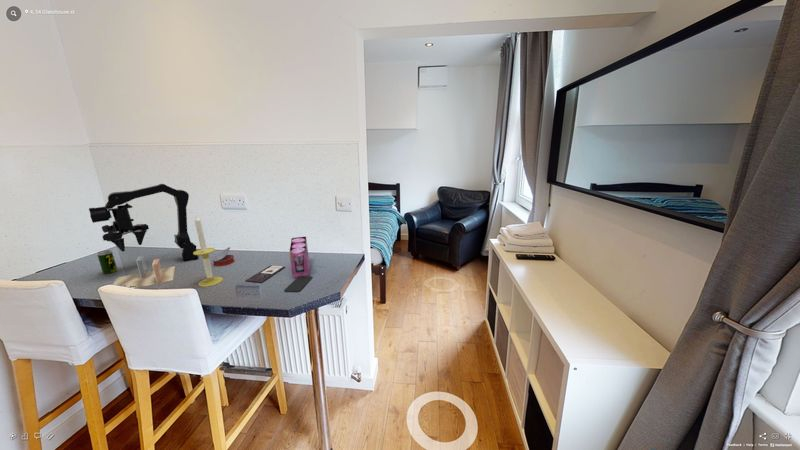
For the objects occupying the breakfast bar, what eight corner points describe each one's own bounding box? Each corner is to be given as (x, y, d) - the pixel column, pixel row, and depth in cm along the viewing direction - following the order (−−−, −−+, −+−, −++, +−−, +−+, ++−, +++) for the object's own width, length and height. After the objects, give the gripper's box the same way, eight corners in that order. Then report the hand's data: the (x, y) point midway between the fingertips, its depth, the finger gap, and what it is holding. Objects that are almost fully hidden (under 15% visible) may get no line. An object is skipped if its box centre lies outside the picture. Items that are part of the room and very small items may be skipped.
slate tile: (148, 272, 147) (143, 255, 144) (145, 277, 140) (141, 260, 138) (143, 272, 146) (138, 256, 143) (141, 278, 139) (136, 261, 137)
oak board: (175, 266, 154) (175, 266, 154) (172, 280, 137) (172, 280, 137) (117, 278, 141) (117, 277, 141) (106, 295, 124) (106, 294, 124)
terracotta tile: (163, 275, 142) (159, 258, 139) (161, 281, 135) (157, 263, 133) (158, 276, 141) (154, 259, 138) (156, 282, 134) (152, 264, 132)
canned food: (230, 272, 156) (224, 260, 149) (212, 271, 156) (205, 259, 149) (240, 256, 164) (234, 245, 158) (223, 255, 164) (216, 243, 158)
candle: (207, 277, 140) (193, 212, 131) (227, 277, 139) (214, 211, 131) (192, 287, 130) (176, 217, 121) (214, 286, 129) (199, 216, 121)
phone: (313, 276, 137) (299, 291, 122) (313, 278, 137) (299, 293, 122) (298, 276, 137) (282, 290, 123) (298, 277, 138) (283, 292, 123)
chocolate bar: (245, 280, 134) (270, 265, 151) (245, 282, 134) (270, 267, 151) (261, 282, 132) (285, 266, 149) (262, 284, 132) (285, 268, 149)
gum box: (309, 277, 137) (306, 250, 134) (292, 279, 135) (288, 252, 131) (309, 259, 159) (306, 236, 156) (294, 261, 157) (291, 237, 153)
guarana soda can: (100, 276, 144) (93, 254, 141) (108, 272, 149) (101, 250, 146) (113, 275, 145) (106, 252, 142) (120, 270, 150) (114, 249, 147)
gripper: (124, 214, 150) (133, 242, 154) (86, 223, 132) (97, 255, 136) (145, 213, 149) (153, 241, 153) (109, 223, 131) (120, 254, 135)
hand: (132, 248), depth 145 cm, fingers open, 9 cm apart
